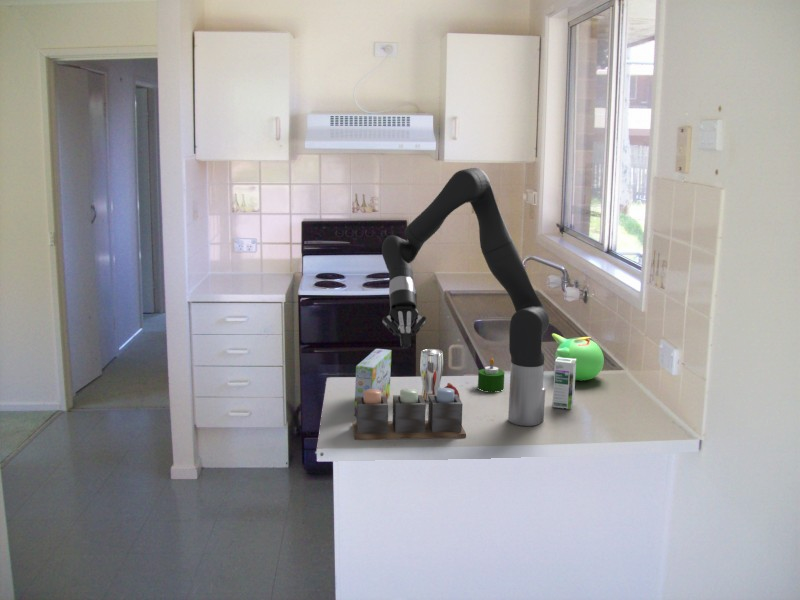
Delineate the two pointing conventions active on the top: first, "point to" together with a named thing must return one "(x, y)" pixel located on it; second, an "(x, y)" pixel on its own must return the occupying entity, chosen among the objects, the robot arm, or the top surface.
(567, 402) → the syrup box
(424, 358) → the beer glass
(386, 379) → the snack box
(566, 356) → the toy bird
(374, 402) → the terracotta button
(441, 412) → the button board
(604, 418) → the top surface
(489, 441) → the top surface
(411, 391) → the sage button
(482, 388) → the candle
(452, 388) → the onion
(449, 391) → the pale blue rounded piece
